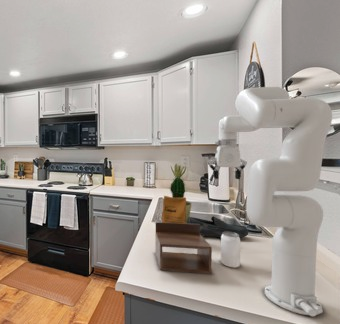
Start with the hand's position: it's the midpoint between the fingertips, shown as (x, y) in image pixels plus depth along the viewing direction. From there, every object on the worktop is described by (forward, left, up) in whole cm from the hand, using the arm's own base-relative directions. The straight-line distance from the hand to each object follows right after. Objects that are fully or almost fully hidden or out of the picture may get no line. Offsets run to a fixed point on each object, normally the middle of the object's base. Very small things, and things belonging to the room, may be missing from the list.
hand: (226, 178), depth 109 cm
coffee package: (-1, +25, -31) cm, 40 cm away
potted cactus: (+18, +19, -31) cm, 41 cm away
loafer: (+7, +2, -31) cm, 32 cm away
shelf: (-26, +27, -31) cm, 49 cm away
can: (-24, +8, -31) cm, 40 cm away
